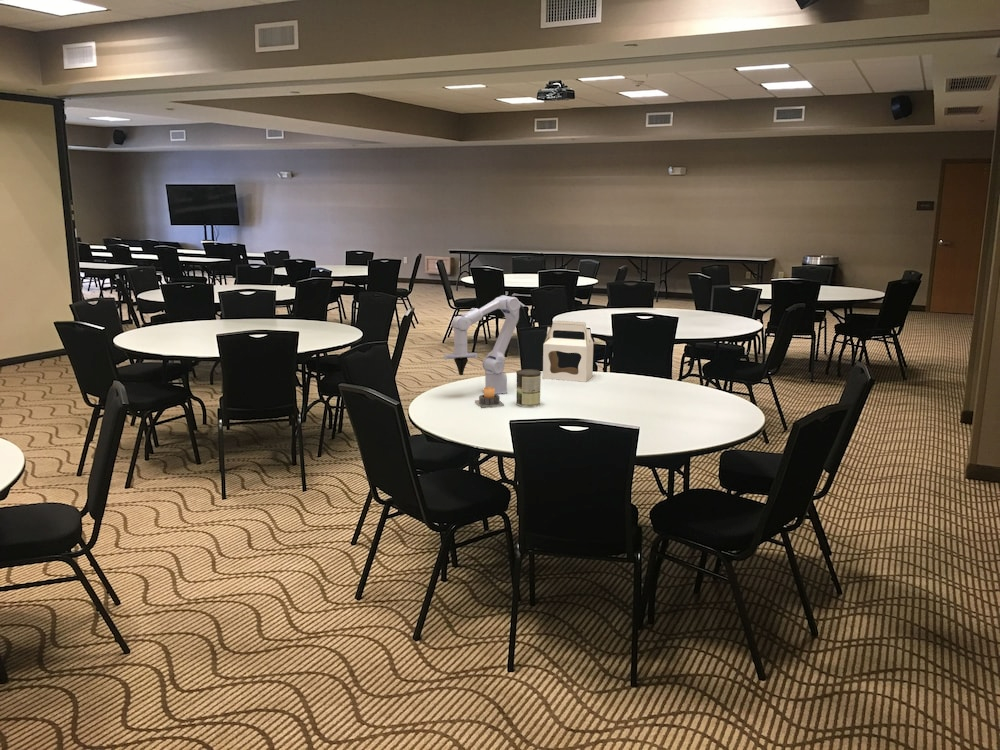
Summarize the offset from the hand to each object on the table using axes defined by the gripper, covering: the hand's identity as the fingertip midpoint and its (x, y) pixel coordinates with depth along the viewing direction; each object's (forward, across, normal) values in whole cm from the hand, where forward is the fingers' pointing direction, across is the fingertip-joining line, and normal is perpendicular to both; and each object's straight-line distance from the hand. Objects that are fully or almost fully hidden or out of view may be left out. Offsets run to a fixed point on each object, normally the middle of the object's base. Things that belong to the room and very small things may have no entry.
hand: (460, 374), depth 335 cm
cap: (+9, -8, +17) cm, 21 cm away
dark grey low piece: (+10, -8, +17) cm, 21 cm away
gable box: (+10, -60, -25) cm, 66 cm away
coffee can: (+10, -24, +21) cm, 33 cm away
